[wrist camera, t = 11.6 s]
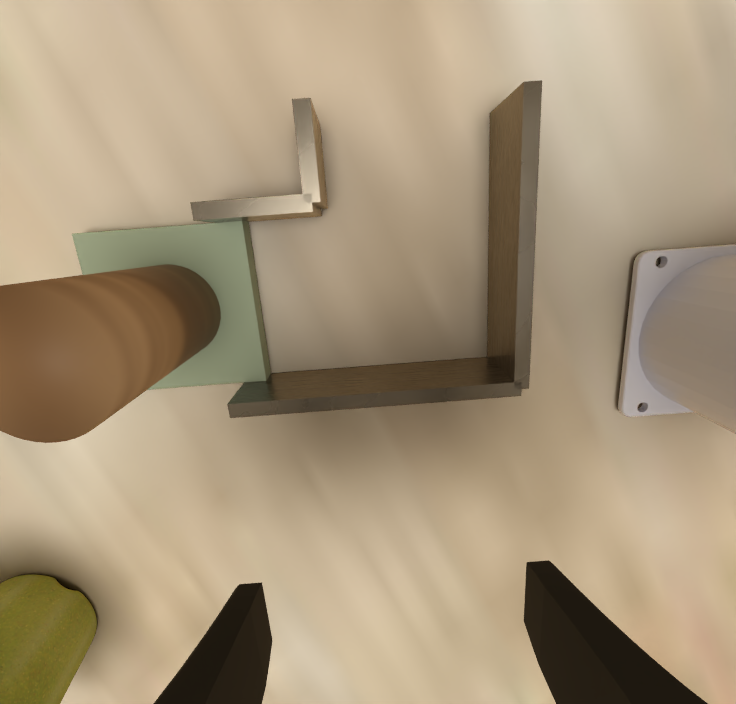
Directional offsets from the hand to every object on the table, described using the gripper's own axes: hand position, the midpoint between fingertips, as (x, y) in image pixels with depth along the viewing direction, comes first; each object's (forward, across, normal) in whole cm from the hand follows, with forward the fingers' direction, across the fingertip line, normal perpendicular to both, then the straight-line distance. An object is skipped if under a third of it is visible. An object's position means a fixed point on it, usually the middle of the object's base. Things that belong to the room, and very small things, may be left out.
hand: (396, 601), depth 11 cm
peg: (+9, +8, -7) cm, 14 cm away
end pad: (+10, +8, -7) cm, 15 cm away
